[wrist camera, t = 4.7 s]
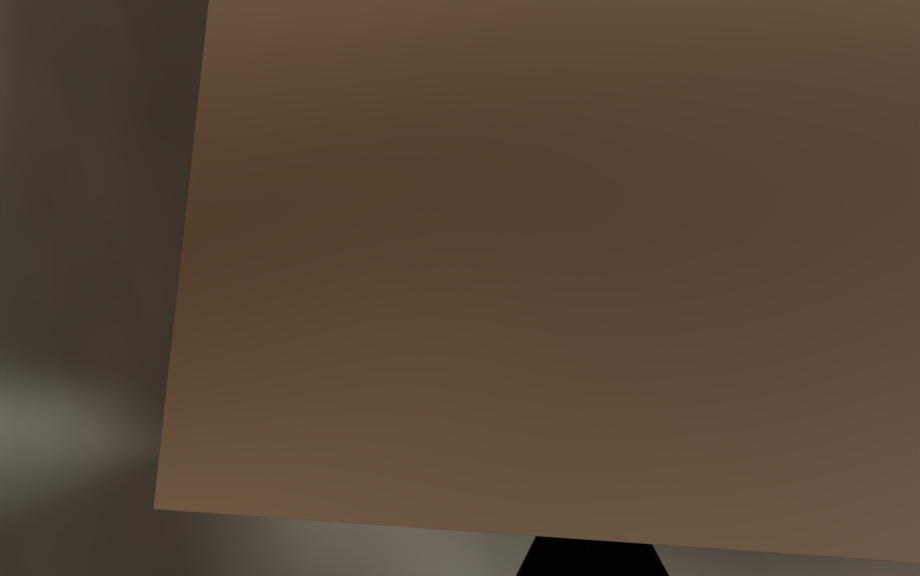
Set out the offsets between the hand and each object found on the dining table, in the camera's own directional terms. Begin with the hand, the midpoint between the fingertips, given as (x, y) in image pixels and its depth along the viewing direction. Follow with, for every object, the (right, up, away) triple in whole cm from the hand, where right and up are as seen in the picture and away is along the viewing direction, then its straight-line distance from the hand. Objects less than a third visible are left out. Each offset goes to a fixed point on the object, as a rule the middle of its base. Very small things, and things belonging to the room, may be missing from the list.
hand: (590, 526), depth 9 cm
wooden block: (+1, +7, +8) cm, 10 cm away
